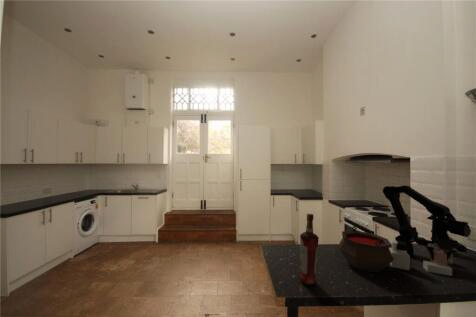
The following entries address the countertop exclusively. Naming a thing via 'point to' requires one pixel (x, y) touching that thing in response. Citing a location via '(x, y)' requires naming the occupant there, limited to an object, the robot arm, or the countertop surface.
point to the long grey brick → (437, 268)
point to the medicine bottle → (400, 255)
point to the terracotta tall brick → (439, 257)
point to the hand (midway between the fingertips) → (438, 260)
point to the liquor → (308, 253)
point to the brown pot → (365, 250)
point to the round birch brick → (450, 259)
